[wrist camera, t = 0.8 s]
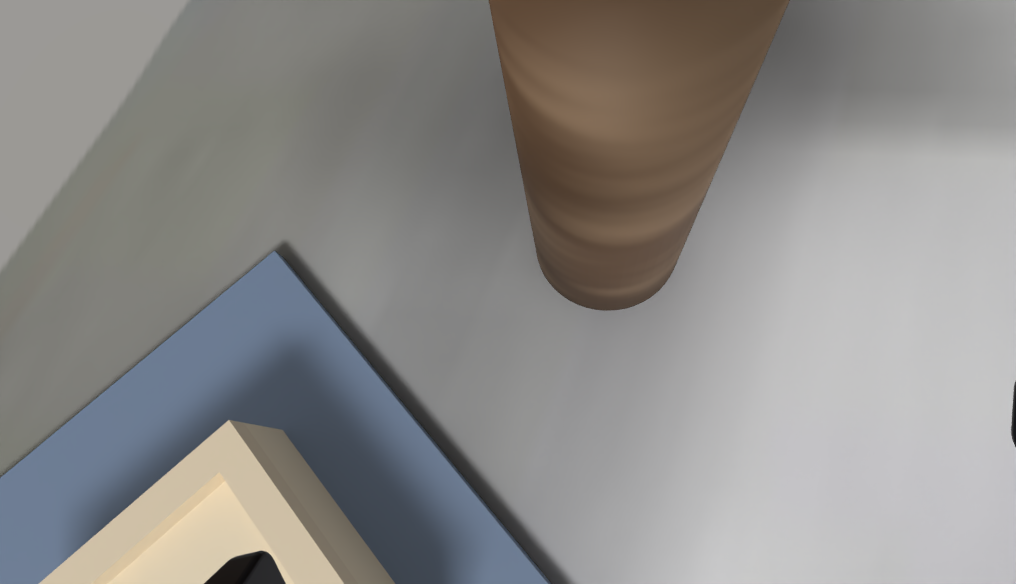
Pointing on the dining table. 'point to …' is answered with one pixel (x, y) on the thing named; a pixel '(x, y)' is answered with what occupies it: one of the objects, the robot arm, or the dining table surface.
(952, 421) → the dining table surface
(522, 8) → the walnut column
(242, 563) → the robot arm
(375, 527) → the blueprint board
